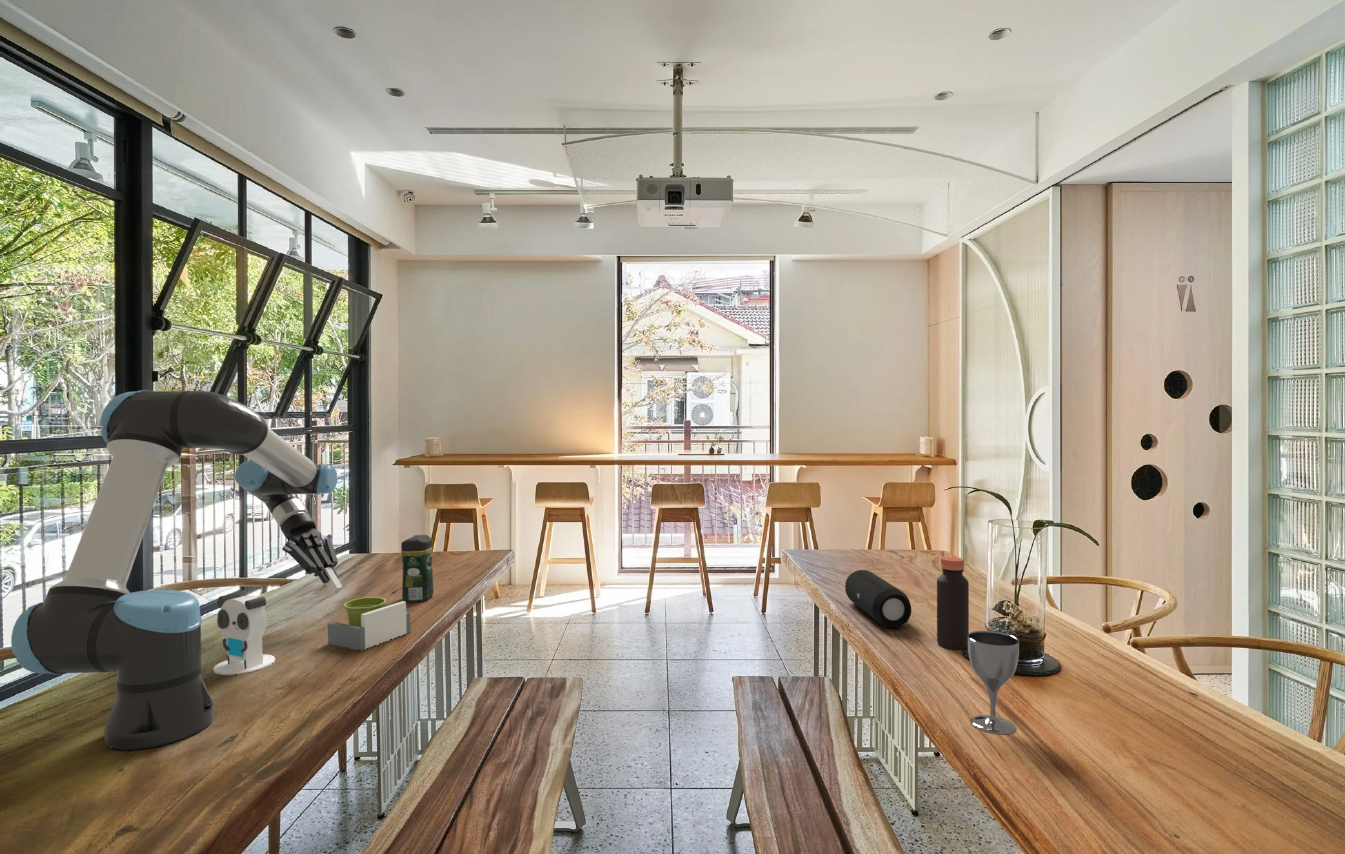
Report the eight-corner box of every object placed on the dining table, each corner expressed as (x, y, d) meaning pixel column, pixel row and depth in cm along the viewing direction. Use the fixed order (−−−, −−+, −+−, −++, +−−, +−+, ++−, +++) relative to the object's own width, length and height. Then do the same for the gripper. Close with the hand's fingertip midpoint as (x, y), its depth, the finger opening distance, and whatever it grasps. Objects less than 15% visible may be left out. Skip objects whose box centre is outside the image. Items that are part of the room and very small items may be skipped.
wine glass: (975, 710, 121) (975, 627, 121) (1023, 722, 116) (1023, 636, 116) (961, 726, 115) (961, 639, 115) (1012, 740, 110) (1012, 649, 110)
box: (360, 650, 155) (360, 616, 155) (328, 644, 160) (327, 610, 160) (410, 632, 168) (409, 600, 168) (378, 626, 173) (378, 595, 173)
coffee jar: (410, 594, 204) (409, 533, 204) (436, 594, 204) (435, 533, 204) (398, 603, 194) (397, 539, 194) (425, 602, 195) (424, 538, 194)
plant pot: (392, 631, 169) (392, 596, 169) (376, 643, 160) (376, 607, 160) (355, 631, 169) (354, 597, 169) (337, 644, 160) (336, 607, 159)
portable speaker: (842, 603, 192) (842, 568, 191) (876, 602, 192) (876, 567, 192) (876, 631, 166) (876, 591, 166) (915, 630, 167) (915, 590, 167)
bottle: (969, 642, 157) (968, 557, 157) (968, 651, 151) (968, 563, 151) (937, 638, 160) (937, 554, 160) (936, 647, 154) (935, 560, 154)
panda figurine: (200, 669, 144) (198, 599, 144) (252, 652, 155) (251, 587, 154) (234, 678, 139) (232, 606, 139) (286, 660, 149) (285, 593, 149)
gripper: (311, 526, 185) (353, 593, 177) (264, 533, 173) (306, 606, 166) (323, 508, 182) (366, 575, 175) (276, 514, 171) (320, 587, 163)
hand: (337, 590), depth 170 cm, fingers closed
